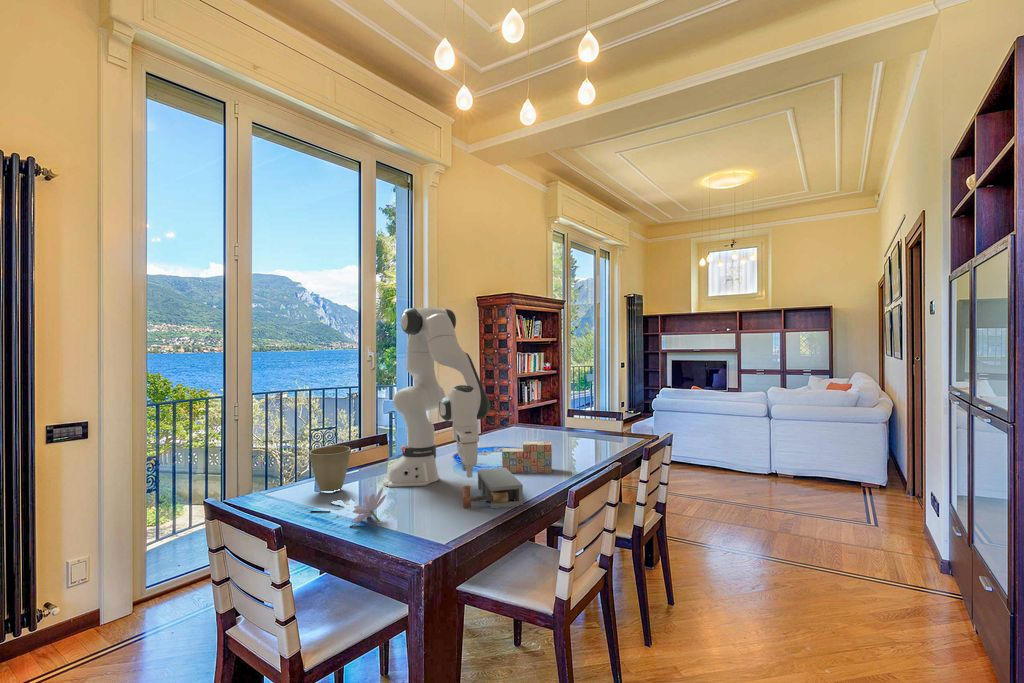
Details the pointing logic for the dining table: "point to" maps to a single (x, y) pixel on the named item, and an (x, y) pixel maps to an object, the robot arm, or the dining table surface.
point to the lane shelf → (500, 485)
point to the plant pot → (330, 466)
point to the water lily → (368, 507)
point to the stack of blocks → (528, 458)
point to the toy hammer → (484, 497)
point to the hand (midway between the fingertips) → (467, 473)
